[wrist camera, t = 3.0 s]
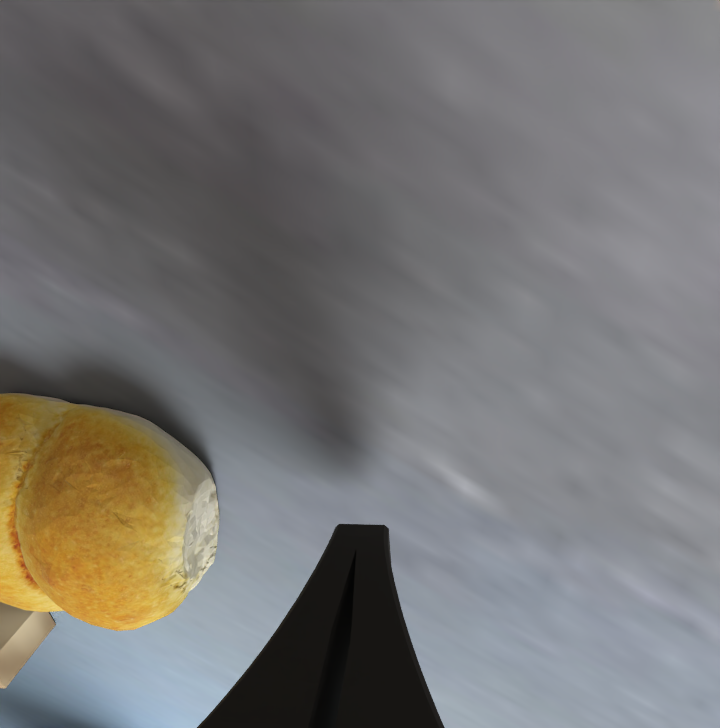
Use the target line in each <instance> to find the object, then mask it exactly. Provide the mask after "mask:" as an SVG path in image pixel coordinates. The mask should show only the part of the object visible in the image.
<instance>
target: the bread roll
mask: <svg viewBox="0 0 720 728" xmlns="http://www.w3.org/2000/svg"><path fill="white" fill-rule="evenodd" d="M218 529H219V509H218V499H217V493H216V487H215V484H214V481H213V478H212V476H211V473H210V472H209V470H208V469H207V468H206V466H205V465H204V464H203V463H202V462H201V461H200V460H199V458H198V457H197V456H196V455H195V454H193V453H192V452H191V451H190V450H189V449H187V448H186V447H185V446H184V445H182V444H181V443H180V442H178V441H177V440H176V439H175V438H173V437H172V436H170V435H169V434H168V433H166V432H165V431H163V430H162V429H161V428H159V427H158V426H157V425H155V424H153V423H152V422H150V421H148V420H146V419H144V418H142V417H140V416H137V415H133V414H129V413H125V412H122V411H119V410H113V409H109V408H103V407H95V406H91V405H86V404H73V403H69V402H67V401H64V400H61V399H57V398H52V397H46V396H35V395H30V394H21V393H5V394H0V602H2V603H5V604H8V605H11V606H14V607H17V608H20V609H23V610H26V611H28V610H29V611H37V612H52V611H63V610H64V611H66V612H67V613H68V614H70V615H71V616H73V617H75V618H78V619H80V620H82V621H85V622H87V623H89V624H91V625H95V626H99V627H103V628H107V629H111V630H116V631H121V630H134V629H137V628H139V627H142V626H144V625H147V624H149V623H151V622H154V621H156V620H158V619H160V618H162V617H165V616H167V615H169V614H170V613H172V612H173V611H174V610H175V609H176V608H177V607H178V606H179V605H180V604H181V603H182V602H183V600H184V599H185V598H186V597H187V594H188V592H189V591H191V590H192V589H193V588H194V587H195V586H196V585H197V584H198V583H199V582H200V580H201V578H202V576H203V575H204V573H205V572H206V571H207V570H208V568H209V567H210V565H212V564H213V562H214V559H215V554H216V548H217V536H218Z"/></svg>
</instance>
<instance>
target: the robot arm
mask: <svg viewBox="0 0 720 728" xmlns="http://www.w3.org/2000/svg"><path fill="white" fill-rule="evenodd" d="M197 728H444V726H443V723H442V721H441V719H440V716H439V714H438V712H437V709H436V707H435V704H434V702H433V699H432V697H431V694H430V692H429V689H428V687H427V684H426V682H425V679H424V676H423V673H422V671H421V668H420V665H419V663H418V660H417V657H416V654H415V651H414V648H413V645H412V642H411V639H410V636H409V633H408V630H407V627H406V623H405V620H404V617H403V613H402V610H401V606H400V602H399V598H398V594H397V590H396V586H395V582H394V578H393V573H392V567H391V556H390V542H389V529H388V528H387V527H386V526H385V525H359V524H339V525H338V526H337V527H336V528H335V530H334V532H333V535H332V537H331V539H330V541H329V543H328V545H327V547H326V549H325V551H324V553H323V555H322V557H321V559H320V561H319V562H318V564H317V566H316V568H315V570H314V571H313V573H312V575H311V577H310V578H309V580H308V582H307V583H306V585H305V587H304V588H303V590H302V592H301V593H300V595H299V597H298V598H297V600H296V601H295V603H294V604H293V606H292V608H291V609H290V611H289V612H288V614H287V615H286V617H285V618H284V620H283V621H282V623H281V624H280V626H279V627H278V629H277V630H276V632H275V633H274V634H273V636H272V637H271V639H270V640H269V641H268V643H267V644H266V645H265V647H264V648H263V650H262V651H261V652H260V653H259V655H258V656H257V657H256V659H255V660H254V661H253V663H252V664H251V665H250V667H249V668H248V669H247V670H246V672H245V673H244V674H243V675H242V676H241V678H240V679H239V680H238V681H237V682H236V684H235V685H234V686H233V687H232V689H231V690H230V691H229V692H228V693H227V695H226V696H225V697H224V698H223V699H222V700H221V702H220V703H219V704H218V705H217V706H216V707H215V709H214V710H213V711H212V712H211V713H210V714H209V715H208V716H207V718H206V719H205V720H204V721H203V722H202V723H201V724H200V725H199V726H198V727H197Z"/></svg>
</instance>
